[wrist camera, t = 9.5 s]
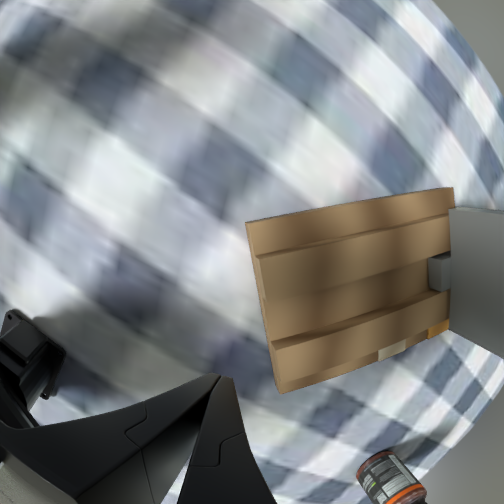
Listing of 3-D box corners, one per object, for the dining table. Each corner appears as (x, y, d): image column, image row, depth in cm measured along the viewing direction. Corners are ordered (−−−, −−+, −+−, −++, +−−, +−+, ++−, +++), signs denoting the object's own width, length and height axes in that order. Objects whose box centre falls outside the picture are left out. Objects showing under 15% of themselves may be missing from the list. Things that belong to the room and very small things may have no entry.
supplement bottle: (390, 468, 31) (430, 518, 20) (352, 484, 30) (388, 541, 19) (397, 442, 30) (444, 495, 19) (356, 459, 29) (399, 522, 18)
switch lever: (427, 327, 25) (510, 374, 14) (424, 210, 23) (529, 221, 12) (454, 313, 25) (533, 352, 15) (453, 204, 23) (549, 213, 13)
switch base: (275, 385, 24) (285, 404, 22) (244, 222, 22) (252, 225, 19) (445, 319, 27) (464, 328, 24) (442, 187, 25) (464, 187, 22)
